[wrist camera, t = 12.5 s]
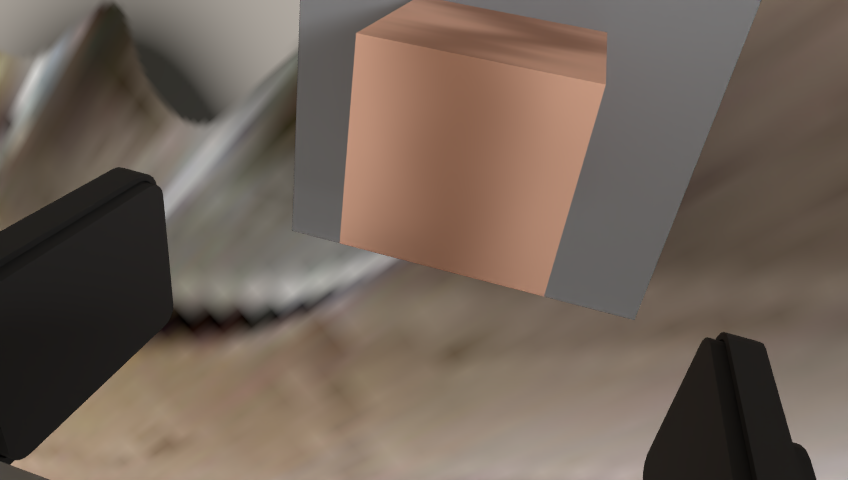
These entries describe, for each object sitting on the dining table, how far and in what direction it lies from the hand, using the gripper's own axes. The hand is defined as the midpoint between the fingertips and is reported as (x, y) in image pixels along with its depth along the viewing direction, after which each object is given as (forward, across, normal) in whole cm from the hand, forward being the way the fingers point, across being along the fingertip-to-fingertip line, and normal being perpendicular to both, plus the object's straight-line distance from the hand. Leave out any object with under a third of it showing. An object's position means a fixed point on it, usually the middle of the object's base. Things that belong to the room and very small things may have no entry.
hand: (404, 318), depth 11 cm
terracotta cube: (+12, +1, 0) cm, 13 cm away
